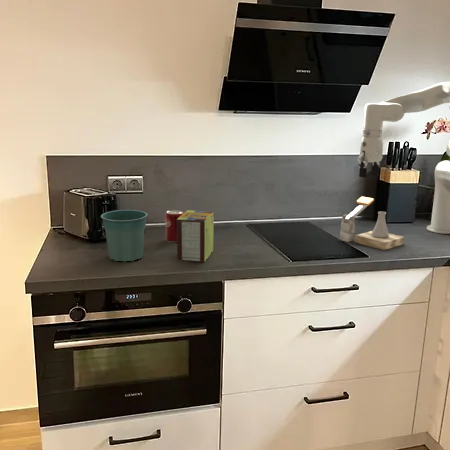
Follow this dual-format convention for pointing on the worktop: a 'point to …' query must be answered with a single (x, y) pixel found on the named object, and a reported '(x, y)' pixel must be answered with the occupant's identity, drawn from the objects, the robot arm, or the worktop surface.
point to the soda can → (172, 225)
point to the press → (367, 236)
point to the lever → (360, 206)
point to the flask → (380, 227)
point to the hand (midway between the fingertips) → (368, 176)
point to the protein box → (195, 235)
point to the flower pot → (125, 234)
